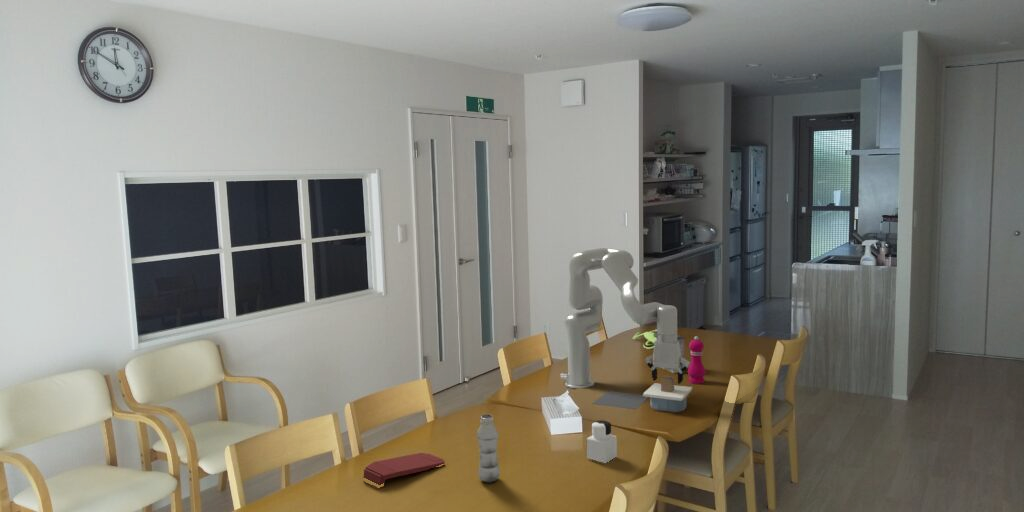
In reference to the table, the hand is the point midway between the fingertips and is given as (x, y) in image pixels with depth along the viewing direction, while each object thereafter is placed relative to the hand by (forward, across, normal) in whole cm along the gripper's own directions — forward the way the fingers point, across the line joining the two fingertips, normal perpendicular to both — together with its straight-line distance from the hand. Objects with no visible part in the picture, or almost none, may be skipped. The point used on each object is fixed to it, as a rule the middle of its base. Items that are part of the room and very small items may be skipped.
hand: (667, 381), depth 277 cm
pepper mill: (+10, +2, +36) cm, 37 cm away
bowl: (+10, 0, 0) cm, 10 cm away
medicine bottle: (+10, -5, -57) cm, 58 cm away
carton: (+11, -58, -91) cm, 108 cm away
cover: (+4, 0, 0) cm, 5 cm away
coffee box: (+10, -12, +50) cm, 52 cm away
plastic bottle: (+10, -30, -86) cm, 92 cm away
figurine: (+11, -36, +98) cm, 105 cm away
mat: (+10, -19, 0) cm, 21 cm away
